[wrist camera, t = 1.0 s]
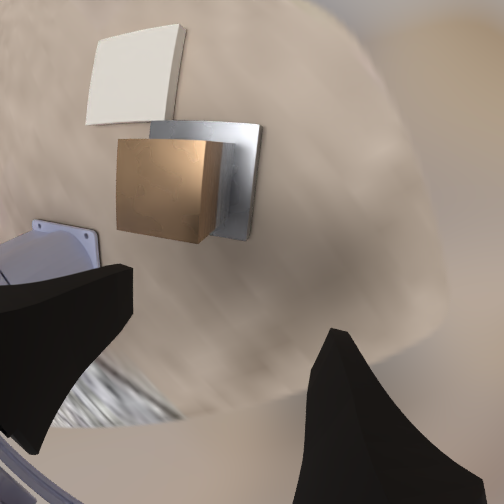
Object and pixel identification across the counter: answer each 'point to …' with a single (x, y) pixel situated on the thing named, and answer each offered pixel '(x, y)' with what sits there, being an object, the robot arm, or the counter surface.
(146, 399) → the counter surface
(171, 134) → the stand
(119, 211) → the block
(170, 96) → the stand
